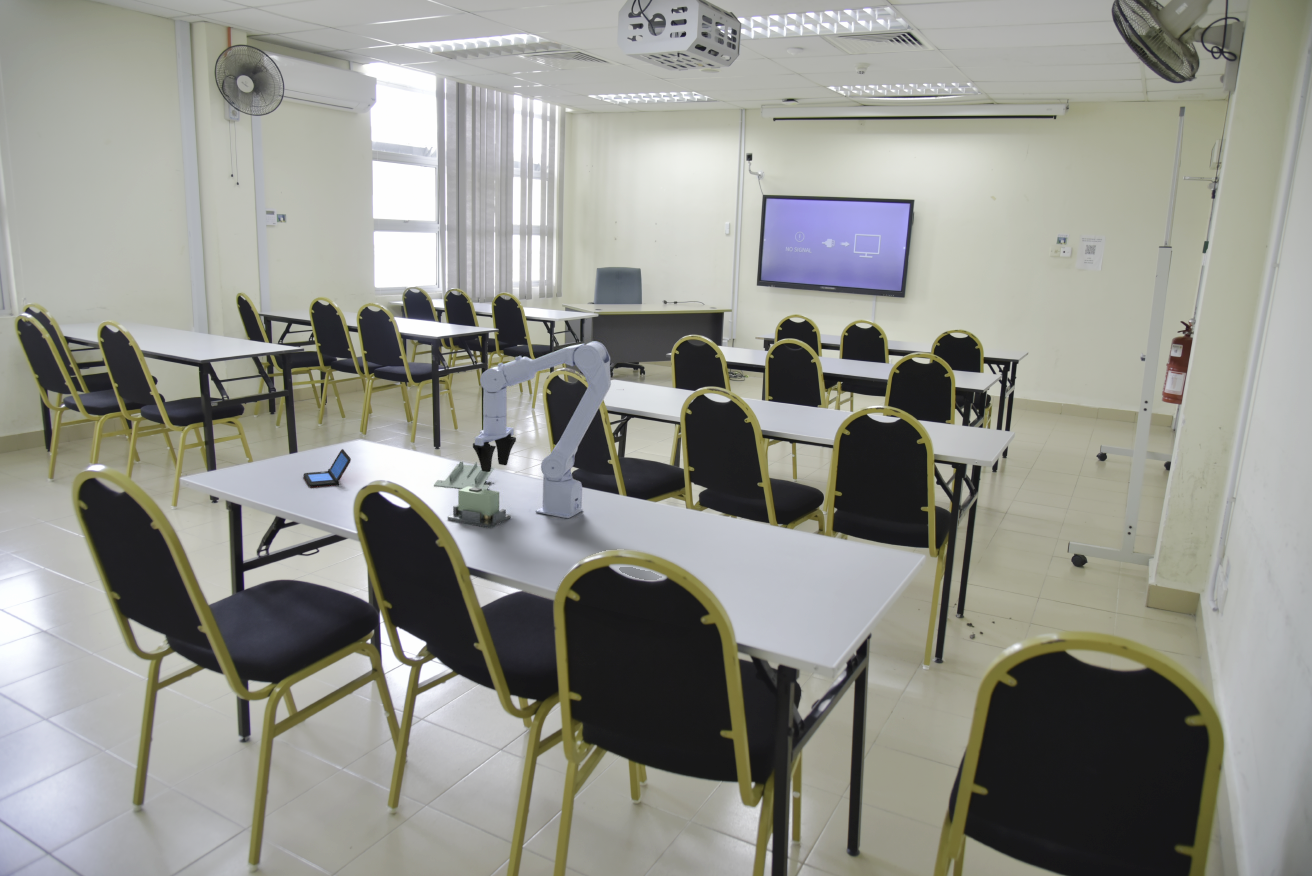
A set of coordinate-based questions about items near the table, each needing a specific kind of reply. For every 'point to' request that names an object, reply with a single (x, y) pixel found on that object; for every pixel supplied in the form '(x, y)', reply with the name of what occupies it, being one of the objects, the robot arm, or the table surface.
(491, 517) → the chassis
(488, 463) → the robot arm
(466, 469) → the metal bracket
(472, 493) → the pale green box
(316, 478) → the handheld game console
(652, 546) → the table surface
